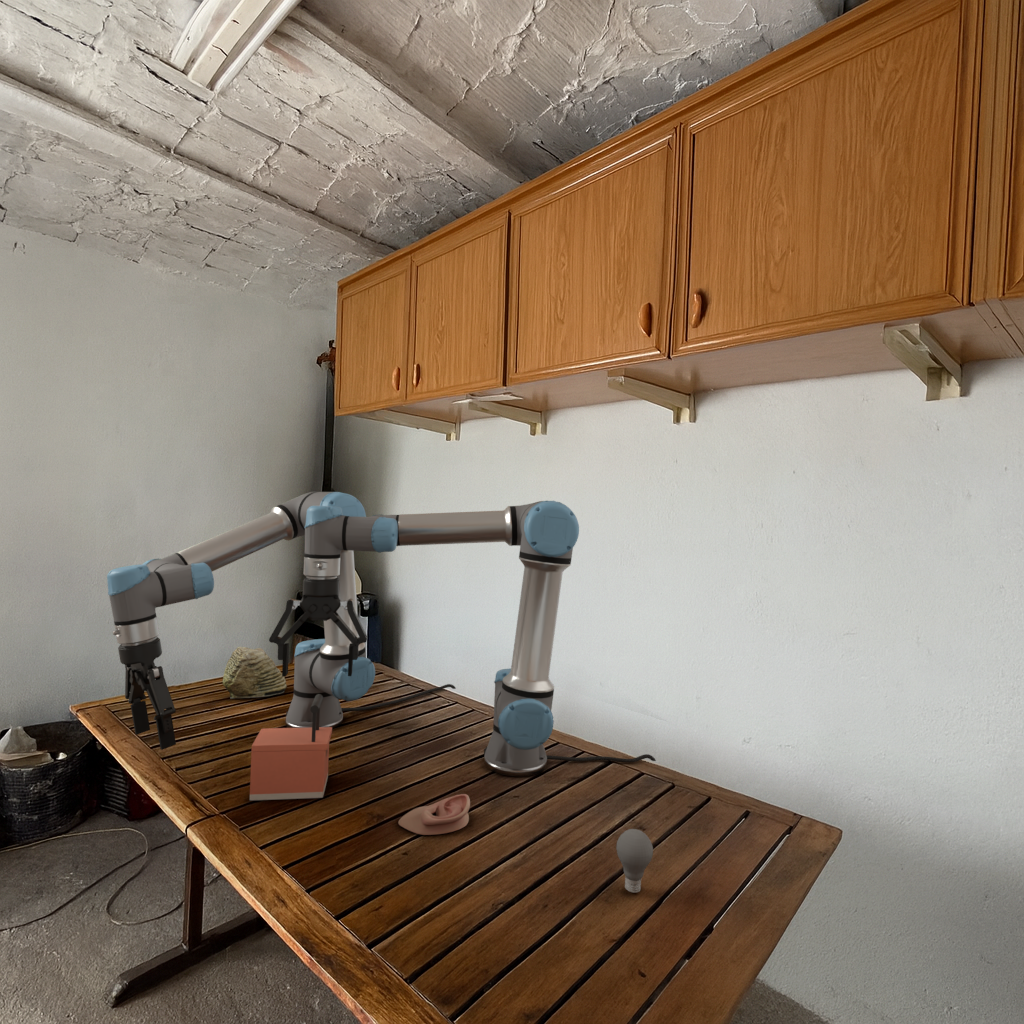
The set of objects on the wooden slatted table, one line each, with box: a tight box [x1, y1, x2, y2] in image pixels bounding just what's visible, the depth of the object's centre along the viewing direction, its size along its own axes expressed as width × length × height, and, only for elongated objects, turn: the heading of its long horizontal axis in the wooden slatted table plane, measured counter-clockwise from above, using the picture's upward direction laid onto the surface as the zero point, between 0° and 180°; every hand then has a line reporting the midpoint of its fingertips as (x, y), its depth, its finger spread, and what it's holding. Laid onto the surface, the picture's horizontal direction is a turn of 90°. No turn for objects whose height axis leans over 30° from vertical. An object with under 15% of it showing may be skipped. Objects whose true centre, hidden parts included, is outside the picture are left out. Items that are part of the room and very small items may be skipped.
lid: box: [251, 694, 333, 752], centre depth 137 cm, size 15×10×9 cm, turn 100°
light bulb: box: [615, 828, 654, 894], centre depth 106 cm, size 6×6×10 cm
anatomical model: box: [397, 793, 471, 836], centre depth 125 cm, size 13×4×12 cm
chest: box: [249, 744, 330, 801], centre depth 137 cm, size 15×10×10 cm
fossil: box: [222, 646, 288, 699], centre depth 198 cm, size 9×18×15 cm, turn 132°
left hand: (155, 739), depth 132 cm, fingers open, 13 cm apart
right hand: (317, 674), depth 137 cm, fingers open, 13 cm apart
